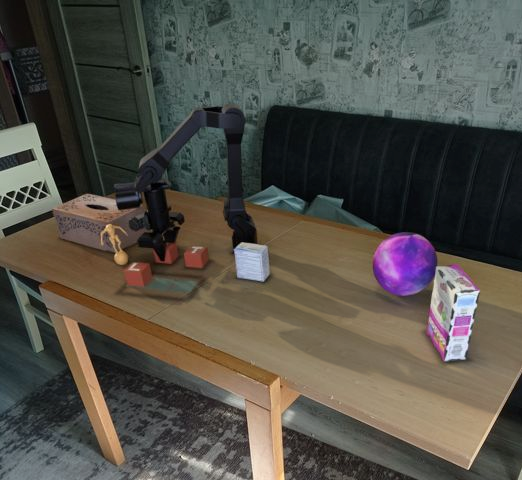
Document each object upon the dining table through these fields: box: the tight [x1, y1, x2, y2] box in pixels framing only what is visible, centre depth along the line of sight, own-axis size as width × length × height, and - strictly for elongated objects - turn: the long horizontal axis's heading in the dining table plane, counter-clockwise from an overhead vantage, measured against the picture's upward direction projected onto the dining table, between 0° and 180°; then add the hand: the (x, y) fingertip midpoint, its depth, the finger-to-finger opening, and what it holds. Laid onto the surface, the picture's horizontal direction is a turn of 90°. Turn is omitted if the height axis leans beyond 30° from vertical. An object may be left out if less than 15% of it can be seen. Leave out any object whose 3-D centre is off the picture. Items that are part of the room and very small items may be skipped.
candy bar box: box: [426, 264, 481, 362], centre depth 108 cm, size 11×5×16 cm, turn 5°
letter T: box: [183, 245, 210, 269], centre depth 150 cm, size 5×5×5 cm
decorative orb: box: [372, 231, 439, 297], centre depth 128 cm, size 15×15×15 cm
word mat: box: [125, 276, 199, 294], centre depth 143 cm, size 20×12×1 cm, turn 73°
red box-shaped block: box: [152, 242, 179, 264], centre depth 154 cm, size 5×5×5 cm
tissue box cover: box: [51, 193, 149, 254], centre depth 169 cm, size 26×14×10 cm, turn 56°
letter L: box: [123, 261, 153, 287], centre depth 143 cm, size 5×5×5 cm
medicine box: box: [233, 242, 271, 283], centre depth 141 cm, size 8×4×9 cm, turn 65°
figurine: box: [101, 224, 130, 266], centre depth 152 cm, size 8×6×12 cm
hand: (166, 257), depth 154 cm, fingers closed on red box-shaped block, 5 cm apart
